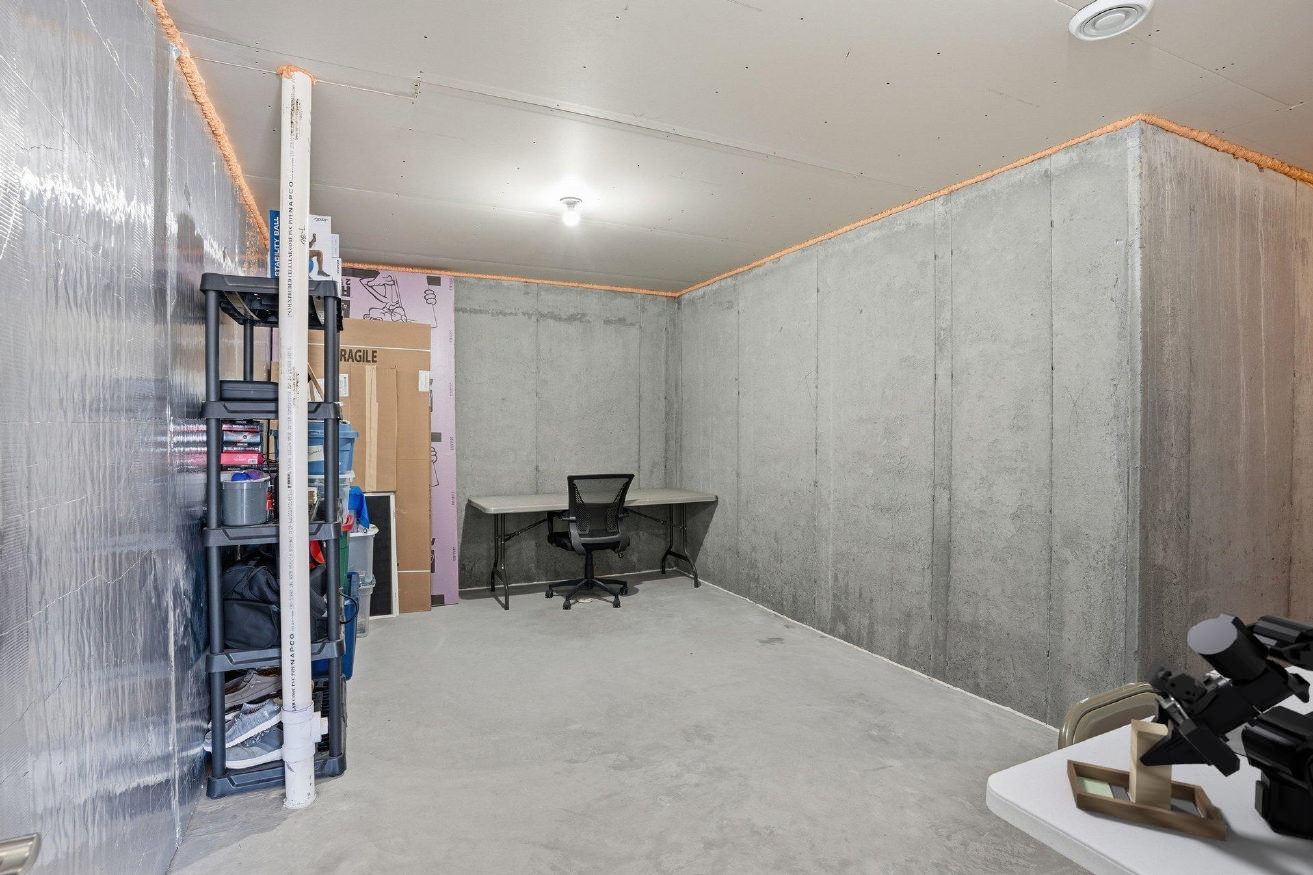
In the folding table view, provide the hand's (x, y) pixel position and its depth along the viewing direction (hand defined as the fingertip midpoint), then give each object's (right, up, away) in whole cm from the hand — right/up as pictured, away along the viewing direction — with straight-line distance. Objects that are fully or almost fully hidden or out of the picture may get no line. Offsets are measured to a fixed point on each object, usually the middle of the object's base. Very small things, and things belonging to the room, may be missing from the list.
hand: (1138, 755), depth 94 cm
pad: (-5, -7, +2) cm, 8 cm away
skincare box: (+28, -7, +17) cm, 33 cm away
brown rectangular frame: (0, -7, 0) cm, 7 cm away
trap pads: (+2, -7, -1) cm, 7 cm away
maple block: (+1, -7, 0) cm, 7 cm away
